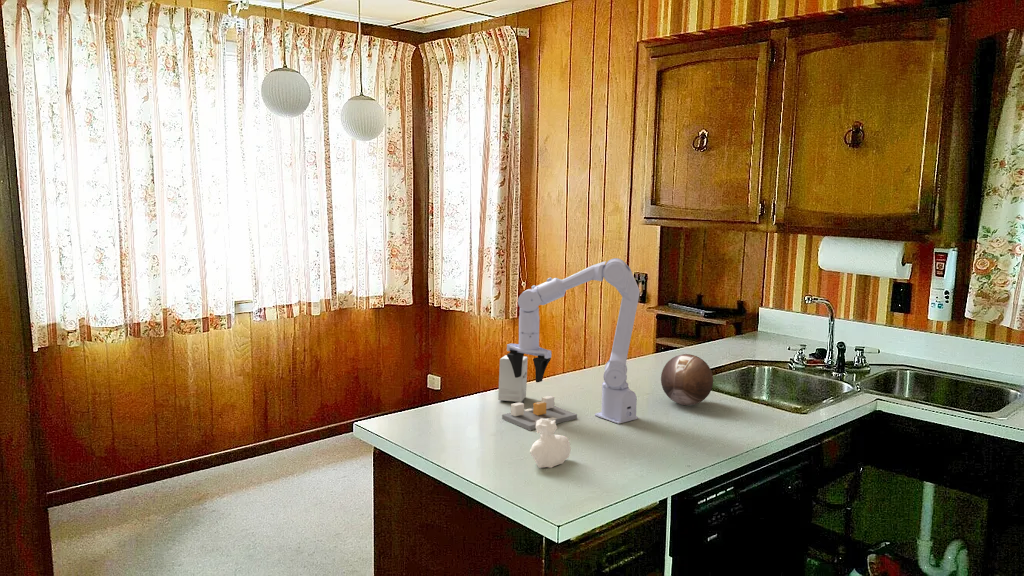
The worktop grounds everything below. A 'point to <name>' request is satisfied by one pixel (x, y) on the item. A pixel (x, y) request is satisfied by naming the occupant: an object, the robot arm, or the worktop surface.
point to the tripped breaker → (539, 408)
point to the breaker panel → (529, 419)
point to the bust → (549, 445)
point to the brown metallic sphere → (687, 379)
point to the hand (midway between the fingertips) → (528, 379)
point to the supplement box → (512, 381)
